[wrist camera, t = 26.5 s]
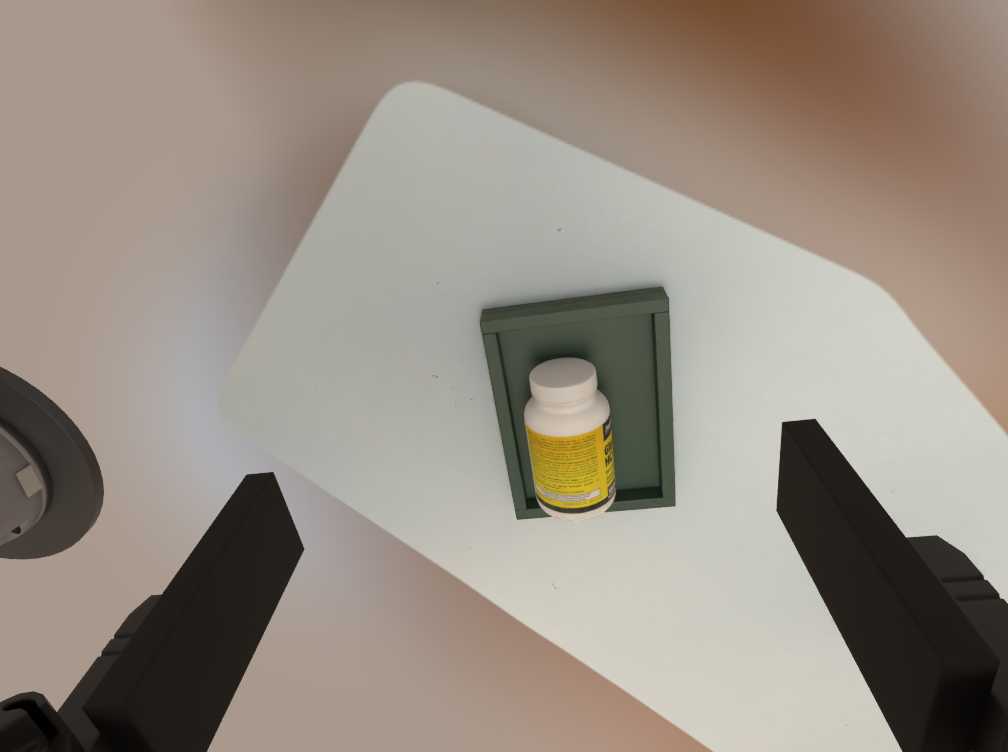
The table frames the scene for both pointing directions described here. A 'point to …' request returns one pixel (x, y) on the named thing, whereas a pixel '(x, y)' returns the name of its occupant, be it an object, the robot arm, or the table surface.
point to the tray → (620, 378)
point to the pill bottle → (570, 440)
